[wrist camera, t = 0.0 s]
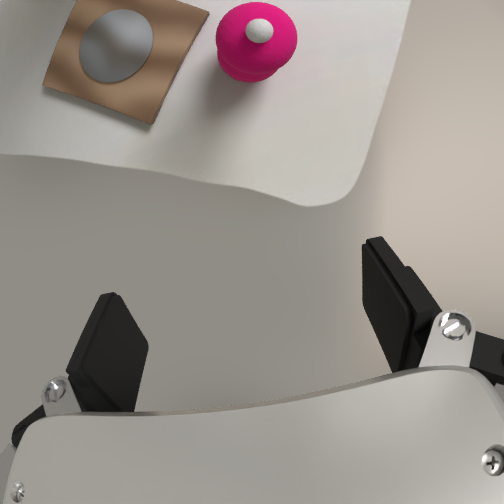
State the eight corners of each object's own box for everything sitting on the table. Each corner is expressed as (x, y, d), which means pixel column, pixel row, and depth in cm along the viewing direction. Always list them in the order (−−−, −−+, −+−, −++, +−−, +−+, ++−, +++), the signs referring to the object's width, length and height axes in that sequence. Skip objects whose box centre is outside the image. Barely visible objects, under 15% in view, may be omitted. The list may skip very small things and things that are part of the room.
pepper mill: (218, 81, 34) (198, 80, 17) (220, 28, 30) (204, -21, 13) (276, 84, 34) (314, 86, 17) (280, 31, 31) (320, -13, 14)
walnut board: (92, -18, 24) (87, -21, 23) (209, 14, 29) (208, 11, 27) (47, 84, 31) (40, 85, 30) (153, 122, 36) (149, 124, 35)
